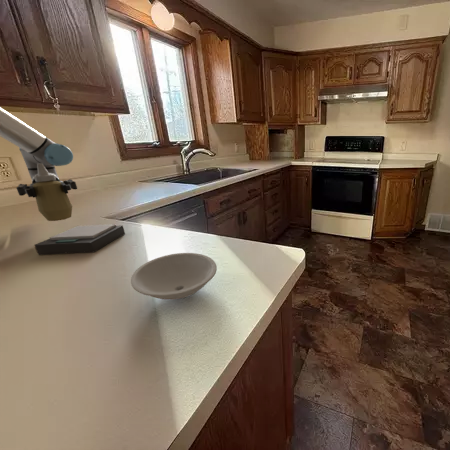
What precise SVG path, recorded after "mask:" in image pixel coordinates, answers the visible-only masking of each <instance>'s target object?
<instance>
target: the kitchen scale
mask: <svg viewBox="0 0 450 450" xmlns="http://www.w3.org/2000/svg"><path fill="white" fill-rule="evenodd" d="M125 234H126V232H125V228H124V225H117V224H116V223H114V224H113V223H112V224H111V223H110V224H89V225H87V224H86V225H76V226H73V227H71V228H69V229H66V230H65V231H62V232H59V233H57V234H55V235H52V236H50V237H49V238H47V239H45V240H43V241H41V242H38V243H36V244H34V246H33V247H34V248H35V251H36V253H37V255H38V256H41V255H42V256H43V255H63V254H64V255H65V254H85V253H96V252H97V251H99V250H100V249H102V248H103V247H106V246H107V245H109V244H111V243H112V242H114V241H116V240H118V239H119V238H121V237H122V236H124V235H125Z"/></svg>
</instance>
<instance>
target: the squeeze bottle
mask: <svg viewBox="0 0 450 450" xmlns="http://www.w3.org/2000/svg"><path fill="white" fill-rule="evenodd" d="M37 169H38V176H34V179H35V181H36V182H37V183H35V184H34V185H33V187H34V190H35V193H36V196H37V197H35V201H36V205H37V209H38V212H39V213H40V214H41V216H43V217H44V219H45V220H46V221H48V222H59V221H63V220H67V219H69V218H72V215H73V204H72V202H71V200H70V197H69V196H68V193H67V194H65V192H64V190H63V187H62V184H61V182H59V181H54V180H56V178H55V175H50V174H49V173H48V171H47V170H46V168H45V167H44V165H43V164H42V163H40V164H37Z"/></svg>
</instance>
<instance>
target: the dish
mask: <svg viewBox="0 0 450 450" xmlns="http://www.w3.org/2000/svg"><path fill="white" fill-rule="evenodd" d="M217 266H218V265H217V263H216V262H215V260H214V259H212V258H211V257H209V256H208V255H205V254H202V253H196V252H179V253H171V254H170V253H169V254H166V255H162V256H159V257H155V258H154V259H151V260H148V261H146V262H145V263H144V264H143V263H142V265H140V266H139V267H137V269H135V270H134V272H133V273H132V274H131V277H130V285H131V287H132V288H133V289H134V290H135V292H137V293H139V294H142V295H145V296H149V297H151V298H155V299H159V300H165V301H166V300H167V301H171V300H173V301H174V300H180V299H184V298H187V297H190V296H192V295H194V294H196V293H197V292H199V291H200V290H201V289H203V288H204V287H205V286H206V285H207V284H208V283H209V282H211V280H212V279H213V278H214V277H215V276H216V273H217V270H218V267H217Z"/></svg>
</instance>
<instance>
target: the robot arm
mask: <svg viewBox="0 0 450 450" xmlns="http://www.w3.org/2000/svg"><path fill="white" fill-rule="evenodd" d="M0 137H1V138H2V139H4V140H6V141H8V142H10V143H11V144H13V145H14V146H17V147H18V148H19V151H20V153H21V157H22V158H23V161H24V164H25V166H26V169H27V172H28V174H29V176H30V179H31V183H30V184H29V185H28V184H27V183H19V184H18V186H17V187H15V188H16V191H17V194H18V196H21V197H22V196H25V195H26V196H27V197H28V198H34V199H35V198H36V197H37V196H36V193H35V190H34V187H33V185H34V184H35V183H37V182H36V181H35V179H34V176H38V169H37V164H40V163H42V164H43V165H44V167H45V168H46V170H47V171H48V173H49V174H50V175H55V178H56V180H54V181H59V182H61V184H62V187H63V190H64V192H65V194H67V195H68V194H69V192H70V191H71V190H78V186H77V183H76V181H74V180H73V179H71V178H70V179H66V180H61V179H60V178H59V175H58V173H57V170H56V167H63V166H67V165H69V164H71V163H72V161H73V160H74V153H73V152H72V151H73V150H71V149H70V148H69V147H68V146H67V145H65V144H61V143H57V142H54V141H53V140H51V139H50V138H48V137H46V136H45V135H43V134H42V133H40V132H38V130H36V129H35V128H33V127H31V126H29V125H28V124H26V122H24V121H22V120H21V119H20V118H17V116H15V115H13V114H11V113H10V112H8V111H7V110H5V109H4V108H2V107H1V106H0Z"/></svg>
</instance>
